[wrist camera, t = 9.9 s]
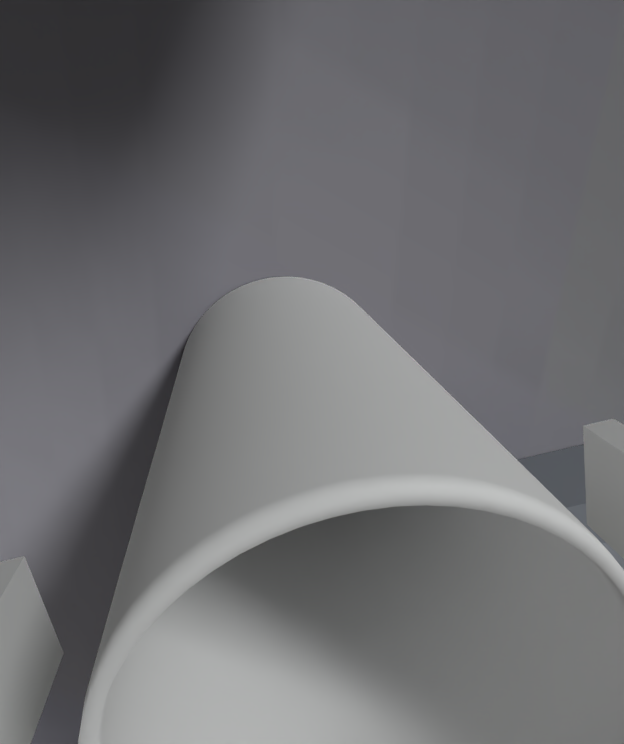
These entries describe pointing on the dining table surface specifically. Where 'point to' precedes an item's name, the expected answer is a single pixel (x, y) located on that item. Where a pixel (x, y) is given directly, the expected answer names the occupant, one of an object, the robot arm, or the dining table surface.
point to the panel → (566, 483)
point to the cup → (346, 557)
